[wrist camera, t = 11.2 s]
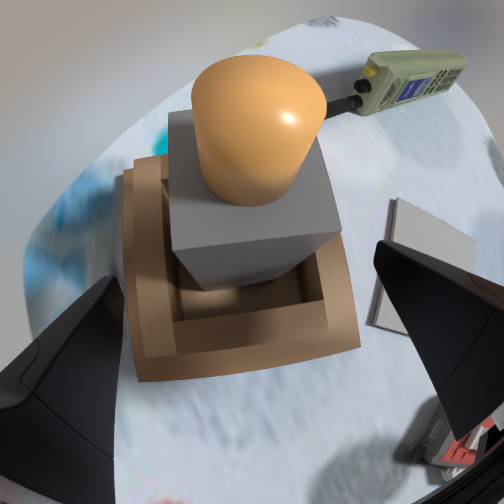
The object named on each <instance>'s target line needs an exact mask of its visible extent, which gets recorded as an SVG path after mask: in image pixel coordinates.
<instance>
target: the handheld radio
mask: <svg viewBox="0 0 504 504" xmlns="http://www.w3.org/2000/svg"><path fill="white" fill-rule="evenodd" d="M468 64H469V63H468V60H467V59H466V58H465V57H464V56H463V55H462V54H461V53H459V52H457V51H447V50H403V51H386V52H374V53H372V54H371V55H370V56H368V61H367V63H366V65H365V67H364V69H363V71H362V73H361V75H360V77H359V79H358V80H357V81H356V82H355V83H354V90H353V92H352V94H351V96H349V97H348V98H345V99H339V100H336V101H332V102H329V103H326V104H327V111H326V116H325V118H324V120H325V119H328V118H331V117H334V116H336V115H339V114H342V113H345V112H348V111H349V110H351V109H355V110H356V111H357V112H358V114H359V115H361V116H368V115H370V114H373V113H376V112H379V111H382V110H385V109H388V108H392V107H395V106H398V105H401V104H404V103H408V102H411V101H414V100H418V99H421V98H425V97H428V96H432V95H435V94H439V93H442V92H446V91H448V90H449V89H450V88H451V86H452V85H453V84H454V82H455V81H456V80H457V78H458V77H459V76H460V75H461V73H462V72H463V71H464V69H465V68H466V67H467V66H468Z"/></svg>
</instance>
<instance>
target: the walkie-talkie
mask: <svg viewBox="0 0 504 504" xmlns="http://www.w3.org/2000/svg"><path fill="white" fill-rule="evenodd" d="M494 424H495V423H494V421H493V419H492V417H489V418H488V419H487V420H486V421H484V422H483V423H482V424H481V425H479V426H478V427H477V428H476V429H474V430H473V431H472V432H470V433H469V434H468V435H466V436H465V437H463V438H462V439H461V440H459V441H458V442H456V440H455V438H454V435H453V432H452V430H451V427H450V424H449V422H448V419H447V417H446V414H445V412H444V409H443V407H442V405H441V403H440V405H439V407H438V410H437V412H436V414H435V416H434V418H433V419H432V421H431V423H430V425H429V427H428V429H427V431H426V432H425V434H424V436H423V438H422V439H421V441H420V443H419V445H418V446H416V447H415V448H414V449H413V450H412V451H411V453H410V459H411V460H412V461H413V462H415V463H418V464H424V465H430V466H437V467H439V468H440V469H439V470H440V471H441V475H442V479H443V480H445V481H447V482H448V481H450V480H451V479H452V478H454V477H455V476H457V475H458V474H459V473H461V472H462V471H463V470H465V469H466V468H467V467H469V466H470V465H471V464H473V463H474V460H475V456H476V452H477V447H478V443H479V438H480V436H481V435H483V434H484V433H485V432H486V431H487V430H489V429H490V428H491V427H492V426H493V425H494ZM417 456H418V457H419V458H421V459H419V458H417Z"/></svg>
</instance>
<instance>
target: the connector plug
mask: <svg viewBox="0 0 504 504" xmlns="http://www.w3.org/2000/svg"><path fill="white" fill-rule="evenodd" d="M191 100H192V110H184V111H176V112H170V113H168V180H169V206H170V224H171V239H172V251H173V252H174V253H175V255H176V256H177V257H178V258H179V260H180V261H181V262H182V264H183V265H184V266H185V267H186V269H187V270H188V271H189V272H190V274H191V275H192V276H193V277H194V279H195V280H196V281H197V282H198V284H199V285H200V286H201V287H202V289H203V290H204V291H205V292H210V291H218V290H226V289H233V288H241V287H248V286H256V285H263V284H270V283H273V282H275V281H276V280H277V279H279V278H280V277H282V276H283V275H284V274H286V273H287V272H288V271H290V270H291V269H292V268H294V267H295V266H296V265H298V264H299V263H300V262H302V261H303V260H304V259H306V258H307V257H308V256H310V255H311V254H312V253H314V252H315V251H316V250H318V249H319V248H320V247H321V246H323V245H324V244H325V243H327V242H328V241H329V240H331V239H332V238H333V237H334V236H336V235H337V234H338V233H340V232H341V231H342V227H341V223H340V219H339V214H338V210H337V206H336V202H335V198H334V195H333V191H332V187H331V183H330V180H329V176H328V172H327V169H326V165H325V162H324V159H323V155H322V152H321V149H320V145H319V142H318V139H317V136H316V135H317V133H318V131H319V129H320V127H321V125H322V123H323V121H324V118H325V116H326V111H327V104H326V99H325V96H324V93H323V91H322V89H321V87H320V86H319V85H318V83H317V82H316V81H315V80H314V79H313V78H312V77H311V76H310V75H309V74H308V73H307V72H305V71H304V70H302V69H301V68H299V67H297V66H296V65H294V64H291V63H289V62H287V61H284V60H281V59H278V58H274V57H269V56H262V55H242V56H235V57H231V58H227V59H224V60H221V61H219V62H217V63H215V64H213V65H212V66H210V67H208V68H207V69H206V70H204V71H203V72H202V73H201V74H200V75H199V77H198V78H197V79H196V81H195V83H194V85H193V88H192V93H191Z"/></svg>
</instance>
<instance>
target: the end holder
mask: <svg viewBox="0 0 504 504" xmlns="http://www.w3.org/2000/svg"><path fill="white" fill-rule="evenodd" d="M122 231H123V261H124V277H125V290H126V301H127V311H128V319H129V327H130V335H131V342H132V348H133V355H134V361H135V366H136V372H137V377H138V382H154V381H171V380H184V379H195V378H205V377H213V376H222V375H229V374H236V373H243V372H250V371H256V370H262V369H267V368H273V367H278V366H284V365H289V364H293V363H298V362H303V361H307V360H312V359H316V358H320V357H325V356H329V355H333V354H337V353H341V352H344V351H348V350H352V349H355V348H359V347H361V344H360V336H359V329H358V322H357V316H356V309H355V303H354V297H353V291H352V286H351V280H350V275H349V270H348V265H347V260H346V255H345V250H344V246H343V241H342V237H341V232H340V233H338V234H337V235H336V236H334V237H333V238H332V239H331V240H329V241H328V242H327V243H325V244H324V245H323V246H321V247H320V248H319V249H318V250H316V251H315V252H314V253H312V254H311V255H310V256H308V257H307V258H306V259H304V260H303V261H302V262H300V263H299V264H298V265H296V266H295V267H294V268H292V269H291V270H290V271H288V272H287V273H286V274H284V275H283V276H282V277H280V278H279V279H277V280H276V281H275V282H273V283H270V284H263V285H256V286H248V287H241V288H233V289H226V290H218V291H210V292H205V291H204V290H203V289H202V287H201V286H200V285H199V284H198V282H197V281H196V280H195V279H194V277H193V276H192V275H191V274H190V272H189V271H188V270H187V269H186V267H185V266H184V265H183V264H182V262H181V261H180V260H179V258H178V257H177V256H176V255H175V253H174V252H173V251H172V239H171V224H170V206H169V180H168V154H164V155H158V156H152V157H146V158H140V159H135V160H134V168H132V169H127V170H124V174H123V203H122Z"/></svg>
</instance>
